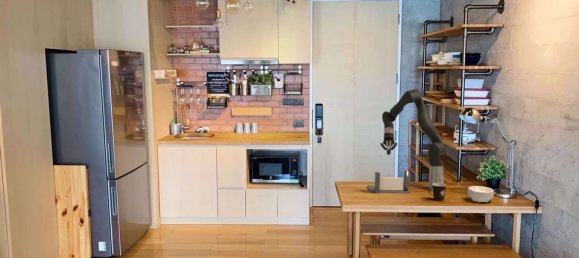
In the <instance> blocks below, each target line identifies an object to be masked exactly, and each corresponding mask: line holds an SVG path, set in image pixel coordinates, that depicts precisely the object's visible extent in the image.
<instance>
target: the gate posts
mask: <svg viewBox="0 0 579 258" xmlns="http://www.w3.org/2000/svg"><path fill="white" fill-rule="evenodd" d="M403 171H404V172H403V173H404V174H403V186H404V191H408V189H409V179H410V174H409V173H410V170H408V169H407V170H406V169H405V170H403ZM380 177H381V173H380V172H379V171H375V172H374V185H375V193H374V194H381V193H380Z"/></svg>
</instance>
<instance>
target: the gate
mask: <svg viewBox="0 0 579 258" xmlns="http://www.w3.org/2000/svg"><path fill="white" fill-rule="evenodd" d="M403 186H404V177H389V176H388V177H381V176H380V190H403Z"/></svg>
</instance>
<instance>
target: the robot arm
mask: <svg viewBox="0 0 579 258" xmlns="http://www.w3.org/2000/svg"><path fill="white" fill-rule="evenodd" d="M412 103H414V105H415V106H416V109H417V110H416V111H417V113H416V121H417V123H418V126H419V128H420V130H421V131H422V132H423V133H424V134H425V135H426V136H427V137H428V138H429V140H430V141H431V144H429V146H428V149H427V150H428V151H427V153H428V154H427V156H428V162H429V163H428V164H429V166H428V167H429V168H428V170H429V171H428V173H429V174H428V189H429V188H431V187H433V186H432V184H434V183H442V184H445V183H444V178H445V177H444V161H443V160H442V158H441V156H443V155H445V154H446V152H447V147H446V144H445V142H444V141H443V139H442V138H441V137H440V134H439V133H438V131H437V129H436V126H435V124H434V122H433V120H432V118H431V116H430V114H429V112H428V110H427V107H426V104H425V103H424V100H423V96H422V94H421V92H420V90H418V89H410V90H406V91H405V92H404V93H403V94H402V96H401V97H400V99H399V100H398V101H397V102H396V103H395V104H394V105H393V106H392V108H390V110H389V111H387V110H385V111H384V112H382V116H381V120H382V123H383V125H384V127H383V141H382V142H380V143H379V144H380V147H381V148H382V149H383V150H384V151H386V155H387V156H390V155H391V154H392V152H391V151H394V150H395V148H396V147H397V146H398V142H395V129H394V128H395V126H394V122H395V121H396V119H397V118H398V116H399V115H400V114H401V113H402V112H403V111H404V108H405V106H407V105H408V104H412ZM430 191H432V192H433V188H431V189H430Z"/></svg>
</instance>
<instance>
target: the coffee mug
mask: <svg viewBox="0 0 579 258" xmlns="http://www.w3.org/2000/svg"><path fill="white" fill-rule="evenodd" d="M432 186H433V187H431V188H433V191H432V193H431V190H430V189H431V188H429V187H428V193H429V194H430V195H432V196H433V200H434V201H435V202H444V201H445V197H446V191H447V184H445V183H444V184H442V183H434V184H432ZM443 200H444V201H443Z"/></svg>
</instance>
